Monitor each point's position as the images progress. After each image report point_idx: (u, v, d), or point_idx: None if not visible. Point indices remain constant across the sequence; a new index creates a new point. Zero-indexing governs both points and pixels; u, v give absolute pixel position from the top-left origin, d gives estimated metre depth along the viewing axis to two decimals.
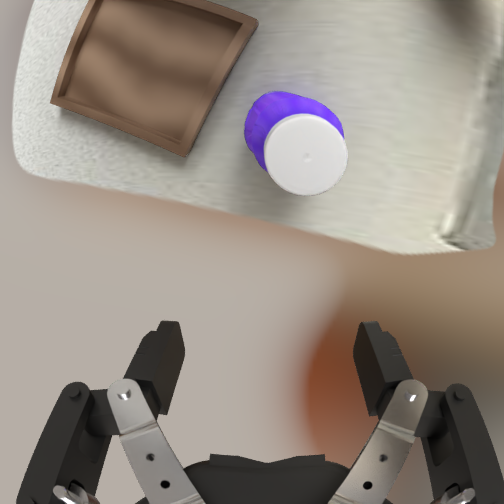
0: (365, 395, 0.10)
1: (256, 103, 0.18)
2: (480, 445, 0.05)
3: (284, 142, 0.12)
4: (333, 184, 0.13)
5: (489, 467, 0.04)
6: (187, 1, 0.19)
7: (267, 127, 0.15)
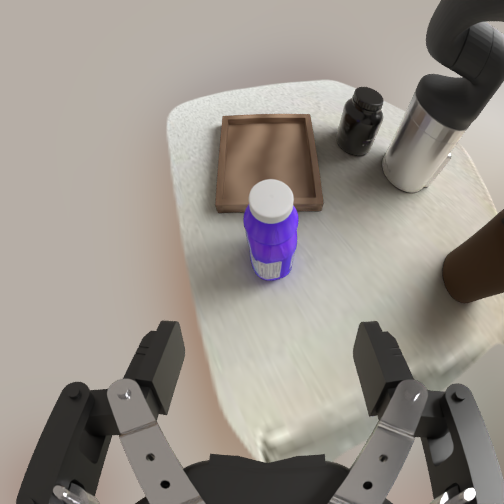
0: (365, 395, 0.10)
1: None
2: (480, 445, 0.05)
3: (272, 184, 0.26)
4: (266, 215, 0.25)
5: (489, 467, 0.04)
6: (314, 164, 0.44)
7: None
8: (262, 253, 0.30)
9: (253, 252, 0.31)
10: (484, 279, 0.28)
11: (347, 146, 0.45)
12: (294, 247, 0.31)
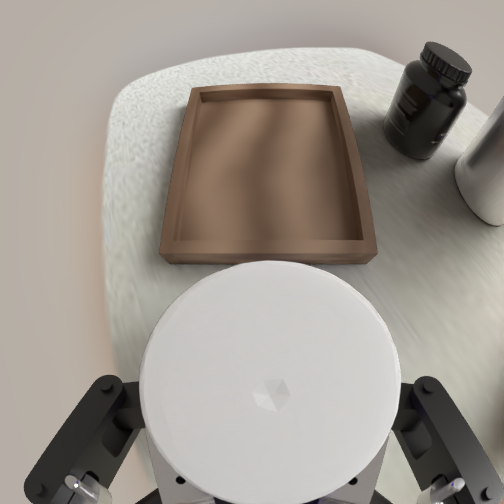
0: None
1: None
2: (460, 434, 0.05)
3: (281, 304, 0.04)
4: (235, 501, 0.03)
5: (474, 454, 0.05)
6: (355, 171, 0.22)
7: None
8: None
9: None
10: None
11: (406, 142, 0.24)
12: None
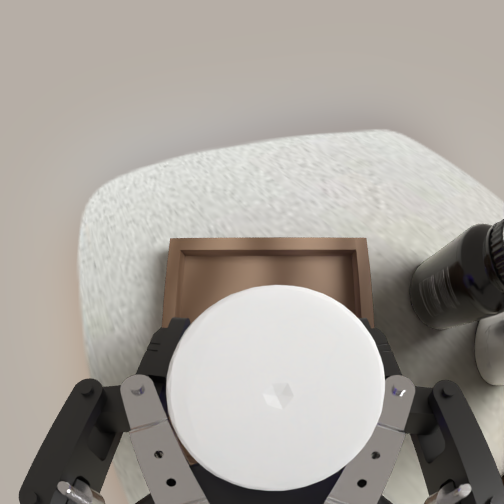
0: None
1: None
2: (473, 441, 0.05)
3: (287, 322, 0.05)
4: (246, 485, 0.04)
5: (484, 461, 0.04)
6: None
7: None
8: None
9: None
10: None
11: (432, 321, 0.20)
12: None
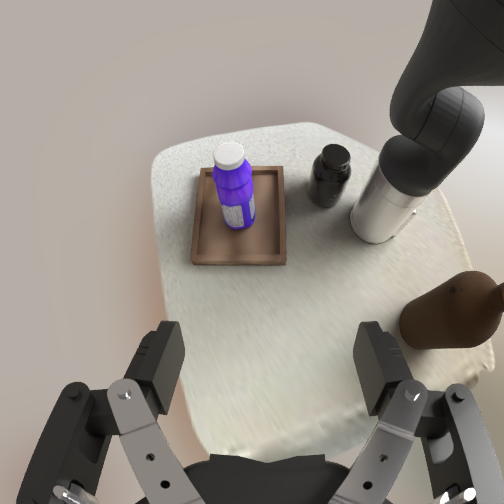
0: (365, 395, 0.10)
1: None
2: (480, 446, 0.05)
3: (230, 145, 0.36)
4: (223, 163, 0.35)
5: (489, 467, 0.04)
6: (281, 221, 0.49)
7: None
8: (225, 197, 0.41)
9: (219, 197, 0.42)
10: (431, 337, 0.34)
11: (316, 199, 0.51)
12: (249, 194, 0.41)
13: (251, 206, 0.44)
